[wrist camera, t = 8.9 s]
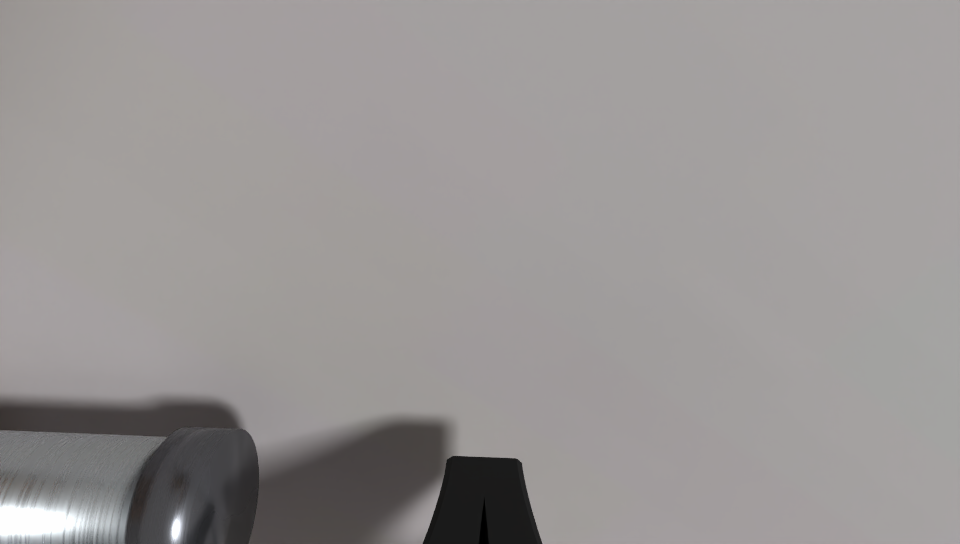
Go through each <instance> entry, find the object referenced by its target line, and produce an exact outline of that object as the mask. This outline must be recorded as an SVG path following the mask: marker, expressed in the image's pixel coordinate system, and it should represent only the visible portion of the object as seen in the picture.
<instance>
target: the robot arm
mask: <svg viewBox="0 0 960 544" xmlns="http://www.w3.org/2000/svg"><path fill="white" fill-rule="evenodd" d="M423 544H542V541H541V538H540V535H539V532H538V529H537V526H536V522H535V519H534V516H533V512H532V509H531V505H530V501H529V498H528V493H527V489H526V485H525V480H524V475H523V468H522V463H521V462H520V461H519V460H518V459H515V458H490V457H465V456H452V457H451V458H449V459H447V463H446V469H445V474H444V479H443V483H442V487H441V491H440V495H439V498H438V501H437V505H436V508H435V511H434V514H433V517H432V520H431V523H430V526H429V529H428V531H427V534H426V537H425V539H424V542H423Z"/></svg>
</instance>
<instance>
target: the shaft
mask: <svg viewBox="0 0 960 544" xmlns="http://www.w3.org/2000/svg"><path fill="white" fill-rule="evenodd" d="M258 487H259V466H258V457H257V451H256V447H255V444H254V441H253V439H252V437H251V436H250V434H249V433H248V432H247V431H245V430H243V429H229V428H204V427H183V428H180V429H178V430H176V431H174V432H173V433H172V434H170V435H169V436H168V437H159V436H134V435H109V434H84V433H58V432H33V431H8V430H0V544H248V543H249V539H250V536H251V532H252V528H253V523H254V518H255V512H256V506H257V498H258Z"/></svg>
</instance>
